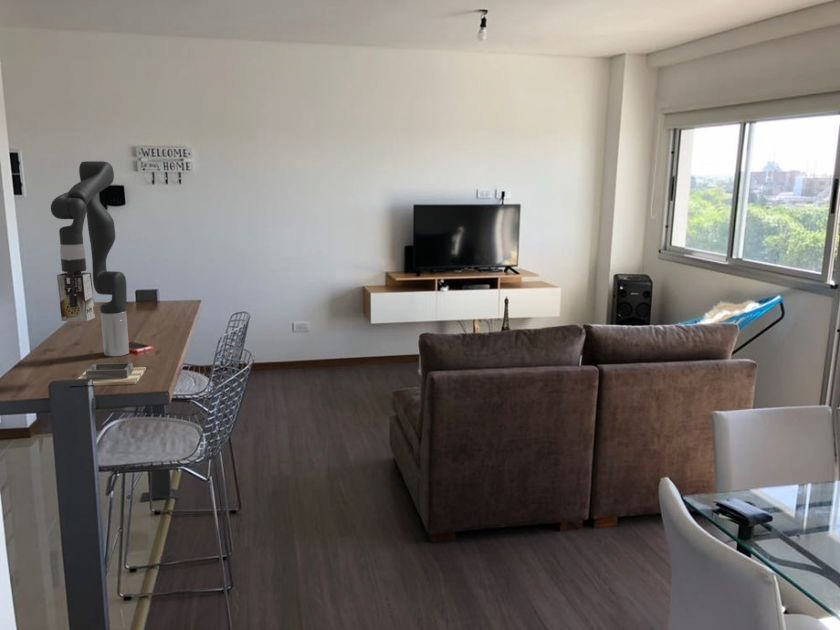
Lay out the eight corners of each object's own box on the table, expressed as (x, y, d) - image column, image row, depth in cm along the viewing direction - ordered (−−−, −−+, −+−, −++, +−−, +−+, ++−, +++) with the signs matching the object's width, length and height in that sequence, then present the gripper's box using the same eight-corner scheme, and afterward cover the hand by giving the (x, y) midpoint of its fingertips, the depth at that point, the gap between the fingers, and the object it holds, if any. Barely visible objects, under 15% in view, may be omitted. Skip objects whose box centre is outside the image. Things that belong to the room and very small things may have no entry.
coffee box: (95, 317, 236) (92, 272, 233) (87, 321, 230) (83, 274, 227) (69, 317, 236) (65, 272, 233) (60, 321, 230) (56, 274, 227)
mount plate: (87, 372, 243) (86, 361, 242) (146, 369, 247) (145, 359, 246) (72, 386, 225) (71, 375, 225) (135, 384, 229) (134, 372, 229)
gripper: (68, 255, 235) (72, 301, 238) (53, 259, 221) (58, 309, 224) (91, 255, 236) (95, 301, 240) (78, 259, 223) (82, 308, 226)
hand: (77, 304), depth 232 cm, fingers closed on coffee box, 7 cm apart
